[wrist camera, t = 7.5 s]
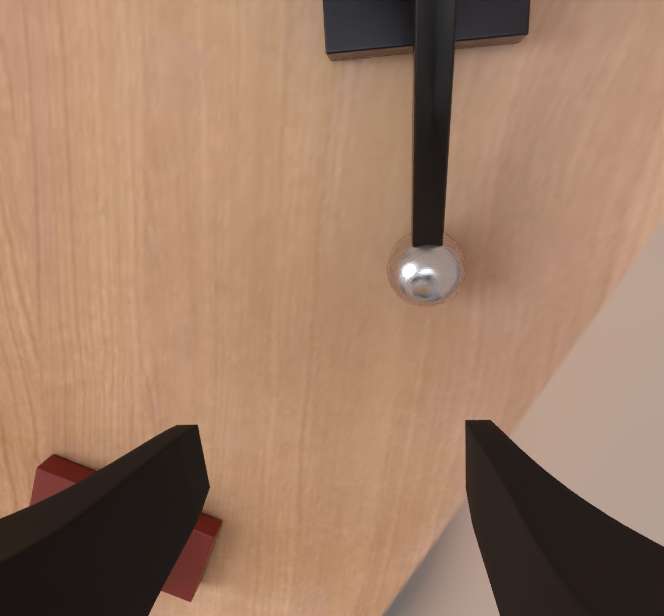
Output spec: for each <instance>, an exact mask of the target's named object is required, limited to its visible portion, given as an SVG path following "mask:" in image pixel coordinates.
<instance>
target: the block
mask: <svg viewBox="0 0 664 616" xmlns="http://www.w3.org/2000/svg"><path fill="white" fill-rule="evenodd" d="M93 473H95V471H93V470H90V469H88V468H85V467H83V466H80V465H78V464H75V463H73V462H70V461H67V460H65V459H62V458H60V457H57V456H55V455H51V456H50V457H49V458H48V459H46V460H45V461H44V462H43V463H42V464H41V465H39V466H38V467H37V469H36V474H35V480H34V485H33V491H32V497H31V502H30V506H31V505H34V504H36V503H38V502H40V501H42V500H44V499H46V498H48V497H50V496H52V495H54V494H56V493H58V492H60V491H62V490H64V489H66V488H68V487H70V486H72V485H74V484H76V483H77V482H79V481H81V480H83V479H84V478H86V477H88V476H90V475H91V474H93ZM221 523H222V521H220V520H218V519H215V518H213V517H210V516H208V515H205V514H203V513H200V516H199V519H198V521H197V523H196V525H195V527H194V529H193V531H192V533H191V535H190V537H189V539H188V541H187V543H186V545H185V546H184V548H183V550H182V552H181V554H180V556H179V558H178V560H177V561H176V563H175V565H174V567H173V569H172V571H171V573H170V575H169V576H168V578H167V580H166V582H165V584H164V586H163V588H162V590H161V591H164V592H166V593H169V594H171V595H174V596H176V597H179V598H181V599H184V600H186V601H189V602H191V601H192V599H193V597H194V595H195V593H196V590H197V588H198V586H199V584H200V581H201V578H202V575H203V573H204V570H205V567H206V565H207V562H208V559H209V556H210V554H211V551H212V548H213V545H214V543H215V540H216V537H217V534H218V532H219V529H220V526H221Z"/></svg>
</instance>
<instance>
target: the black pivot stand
mask: <svg viewBox="0 0 664 616" xmlns="http://www.w3.org/2000/svg"><path fill="white" fill-rule="evenodd" d="M413 3H414V0H323V12H324V29H325V46H326V54H327V56H328V57H329V59H330V60H331V61H334V60H345V59H355V58H366V57H376V56H387V55H397V54H408V53H413ZM529 12H530V0H458V5H457V21H456V37H455V49H460V48H470V47H481V46H491V45H502V44H512V43H519V42H520V41H521V40H522V39H523V38H524V37H525V36H526V35H527V34H528V29H529Z"/></svg>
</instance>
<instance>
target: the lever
mask: <svg viewBox="0 0 664 616" xmlns="http://www.w3.org/2000/svg"><path fill="white" fill-rule="evenodd" d="M457 5H458V0H414V3H413V106H412V209H411V234H409V235H407V236H406V237H404V238H403V239H401V240H400V241H399V242H398V243H397V244H396V246H395V247H394V248H393V250H392V252H391V254H390V257H389V259H388V265H387V274H388V279H389V282H390V285H391V287H392V289H393V290H394V292H395V293H396V294H397V295H398V296H399V297H400V298H401V299H402V300H404V301H405V302H407V303H409V304H411V305H414V306H418V307H433V306H437V305H440V304H443V303H445V302H446V301H448V300H449V299H451V298H452V297H453V296H454V295H455V294H456V293H457V292H458V290H459V289H460V287H461V285H462V283H463V280H464V277H465V269H466V266H465V259H464V256H463V253H462V251H461V249H460V248H459V246H458V245H457V244H456V243H455V242H454V241H453V240H452V239H451V238H450V237H448V236H447V235H445V234H444V218H445V202H446V185H447V169H448V153H449V136H450V120H451V103H452V87H453V70H454V54H455V37H456V21H457Z"/></svg>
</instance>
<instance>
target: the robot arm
mask: <svg viewBox="0 0 664 616" xmlns="http://www.w3.org/2000/svg"><path fill="white" fill-rule="evenodd" d="M465 431H466V492H467V497H468V503H469V509H470V514H471V519H472V524H473V528H474V532H475V535H476V538H477V542H478V545H479V548H480V552H481V555H482V558H483V561H484V565H485V568H486V571H487V574H488V578H489V580H490V584H491V587H492V591H493V594H494V597H495V600H496V604H497V607H498V610H499V613H500V616H664V547H663V546H661V545H659V544H658V543H656V542H654V541H652V540H650V539H648V538H647V537H645V536H643V535H641V534H639V533H637V532H636V531H634V530H632V529H630V528H629V527H627V526H625V525H623V524H622V523H620V522H618V521H617V520H615V519H613V518H612V517H610V516H608V515H607V514H605V513H604V512H602V511H601V510H599V509H598V508H596V507H595V506H593V505H591V504H590V503H588V502H587V501H585V500H584V499H582V498H581V497H580V496H578V495H577V494H575V493H574V492H572V491H571V490H570V489H568V488H567V487H566V486H565V485H563V484H562V483H561V482H559V481H558V480H557V479H555V478H554V477H553V476H552V475H550V474H549V473H548V472H546V471H545V470H544V469H543V468H542V467H540V466H539V465H538V464H537V463H536V462H535V461H534V460H532V459H531V458H530V457H529V456H528V455H527V454H526V453H525V452H524V451H522V450H521V449H520V448H519V447H518V446H517V445H516V444H515V443H514V442H513V441H512V440H511V439H510V438H509V437H508V436H507V435H506V434H505V433H504V432H503V431H502V430H500V429H499V428H498V427H497V426H496V425H495V424H494V423H493V422H492V421H491V420H465ZM209 488H210V485H209V480H208V475H207V470H206V465H205V460H204V455H203V450H202V445H201V440H200V435H199V429H198V425H176V426H174V427H172V428H170V429H168V430H166V431H164V432H162V433H161V434H159V435H157V436H155V437H154V438H152V439H150V440H149V441H147V442H145V443H144V444H142V445H141V446H139V447H137V448H136V449H134V450H132V451H131V452H129V453H127V454H126V455H124V456H122V457H121V458H119V459H117V460H116V461H114V462H113V463H111V464H109V465H107V466H106V467H104V468H102V469H100V470H99V471H97V472H95V473H93V474H91V475H90V476H88V477H86V478H84V479H83V480H81V481H79V482H77V483H76V484H74V485H72V486H70V487H68V488H66V489H64V490H62V491H60V492H58V493H56V494H54V495H52V496H50V497H48V498H46V499H44V500H42V501H40V502H38V503H36V504H34V505H31V506H29V507H27V508H25V509H23V510H20V511H18V512H15V513H13V514H11V515H8V516H6V517H3V518H1V519H0V616H148V615H149V613H150V611H151V609H152V607H153V605H154V603H155V601H156V599H157V597H158V595H159V593H160V591H161V590H162V588H163V586H164V584H165V582H166V580H167V578H168V576H169V575H170V573H171V571H172V569H173V567H174V565H175V563H176V561H177V560H178V558H179V556H180V554H181V552H182V550H183V548H184V546H185V545H186V543H187V541H188V539H189V537H190V535H191V533H192V531H193V529H194V527H195V525H196V523H197V521H198V519H199V516H200V513H201V511H202V508H203V506H204V503H205V500H206V497H207V494H208V491H209Z"/></svg>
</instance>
